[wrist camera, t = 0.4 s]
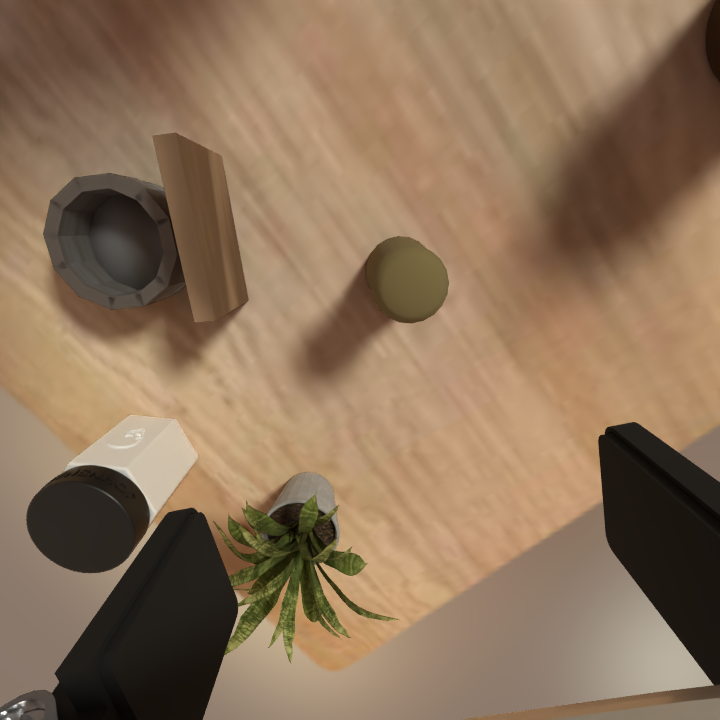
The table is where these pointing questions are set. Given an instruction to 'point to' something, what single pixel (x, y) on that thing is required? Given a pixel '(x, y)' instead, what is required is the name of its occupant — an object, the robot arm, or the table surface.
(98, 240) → the cup bracket
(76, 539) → the jar
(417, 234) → the table surface
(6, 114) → the table surface
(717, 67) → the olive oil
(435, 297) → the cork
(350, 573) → the house plant
